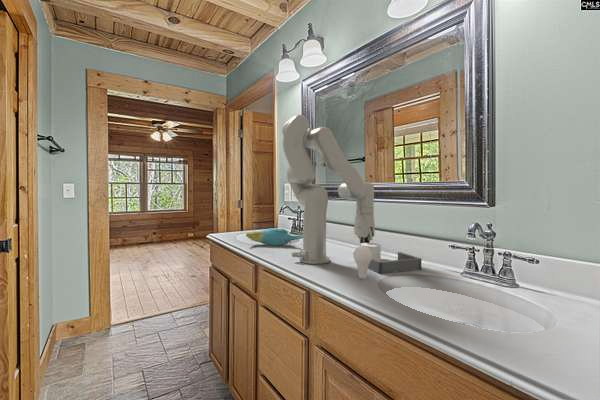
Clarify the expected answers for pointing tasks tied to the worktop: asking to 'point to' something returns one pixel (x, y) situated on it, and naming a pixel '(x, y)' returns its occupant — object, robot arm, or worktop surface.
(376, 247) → the toilet paper
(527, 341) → the worktop surface
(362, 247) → the lightbulb
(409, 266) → the box
